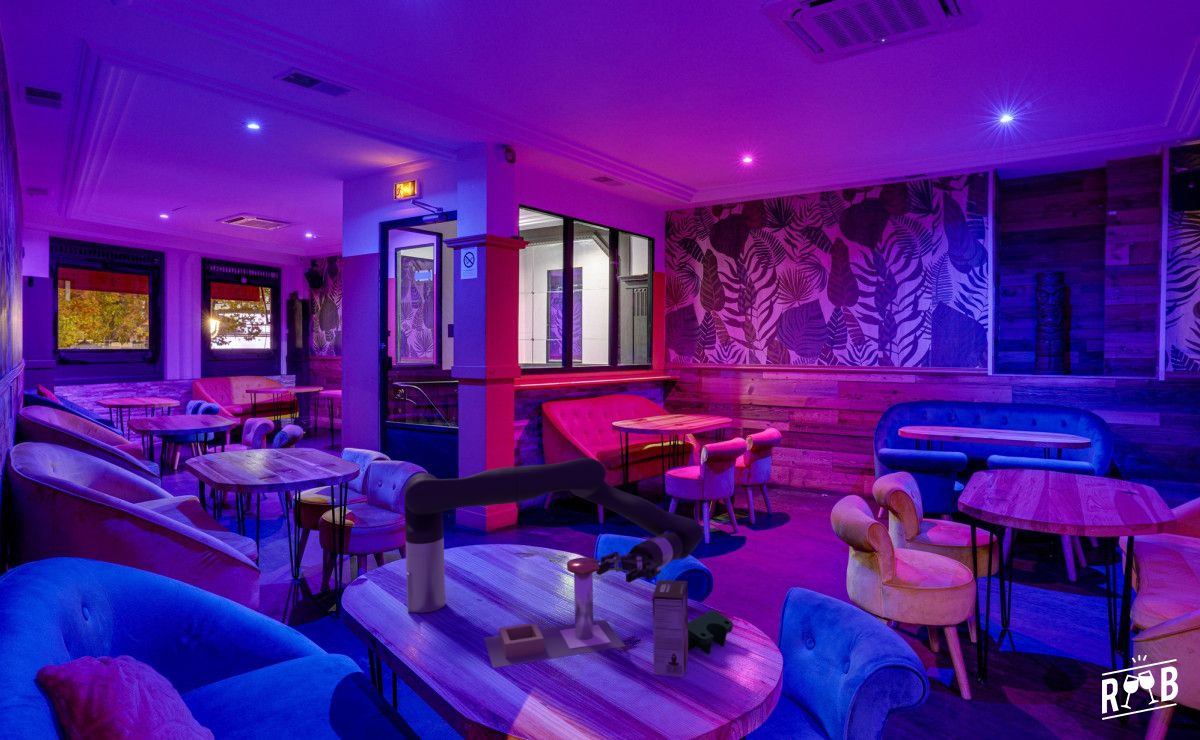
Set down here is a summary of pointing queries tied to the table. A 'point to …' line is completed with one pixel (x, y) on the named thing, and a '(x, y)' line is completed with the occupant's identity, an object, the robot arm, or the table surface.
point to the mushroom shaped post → (583, 595)
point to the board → (546, 643)
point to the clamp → (708, 631)
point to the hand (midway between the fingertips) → (612, 574)
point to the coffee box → (670, 628)
